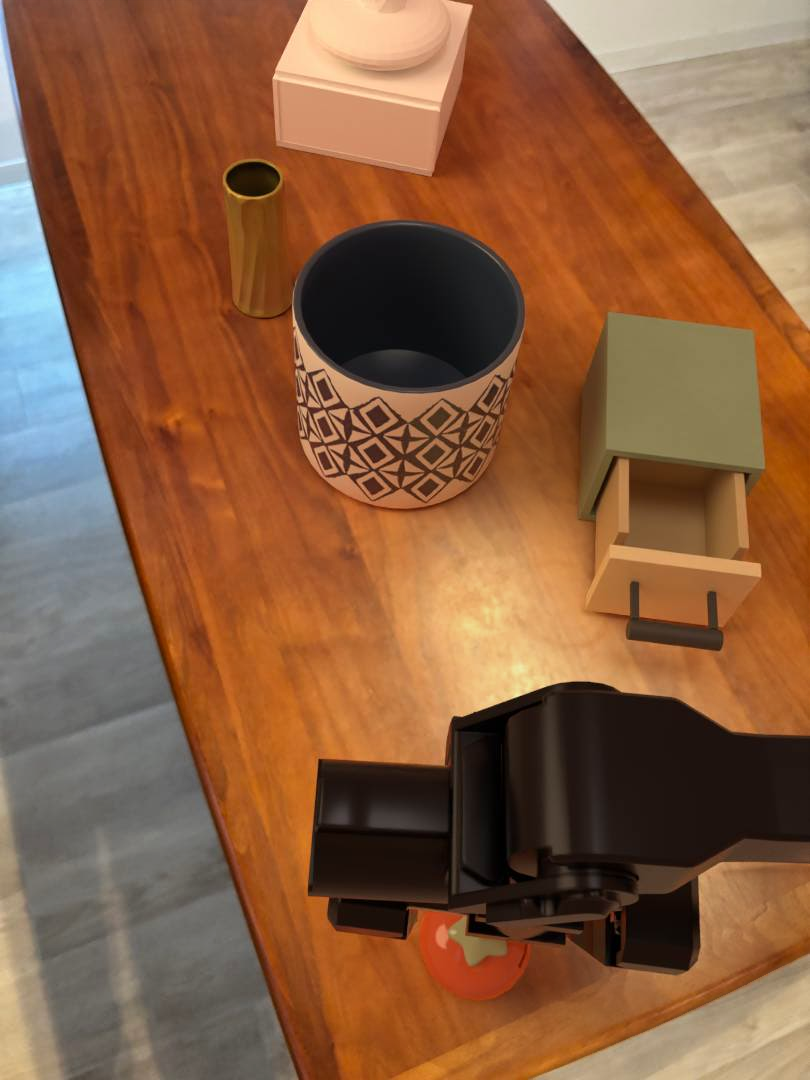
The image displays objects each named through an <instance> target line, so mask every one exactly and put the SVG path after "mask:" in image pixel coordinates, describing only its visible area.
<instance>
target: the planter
mask: <svg viewBox="0 0 810 1080" xmlns="http://www.w3.org/2000/svg"><path fill="white" fill-rule="evenodd" d="M293 287H294V291H293V303H292V305H291V307H292V333H293V335H292V336H293V353H294V356H293V357H294V374H295V375H294V377H295V392H296V411H297V412H296V413H297V427H298V432H299V433H298V434H299V440H300V443H301V446H302V449H303V452H304V454H305V456H306V458H307V460H308V461H309V464H311V466H312V468H314V470H315V471H316V472H317V474H319V476H320V477H321V478H322V479H323V480H325V482H327V483H328V484H329V485H330V486H331V487H333V488H334V489H336V490H337V491H339V492H340V493H342V494H344V495H346V496H347V497H350V498H352V499H354V500H356V501H359V502H362V503H364V504H369V505H371V506H375V507H381V508H389V509H416V508H417V509H418V508H425V507H428V506H432V505H436V504H440V503H443V502H445V501H447V500H450V499H452V498H454V497H455V496H457V495H459V494H461V493H462V492H464V491H466V490H467V489H468V488H470V487H471V486H472V485H473V484H474V483H476V482H477V481H478V480H479V479H480V477H481V476H482V475H483V474H484V472H485V471H486V470H487V468H488V467H489V465H490V463H491V461H492V460H493V457H494V455H495V452H496V449H497V446H498V441H499V438H500V434H501V430H502V425H503V421H504V418H505V413H506V409H507V405H508V401H509V398H510V397H509V396H510V392H511V388H512V385H513V379H514V375H515V371H516V367H517V362H518V358H519V354H520V350H521V345H522V342H523V341H522V340H523V338H524V337H523V336H524V331H525V328H526V327H525V326H526V317H527V310H526V299H525V296H524V293H523V289H522V286H521V284H520V282H519V280H518V279H517V277H516V274H515V273H514V271H513V270H512V269H511V268H510V266H509V265H508V264H507V262H506V261H505V260H504V259H503V258H502V257H501V256H500V255H499V254H498V253H497V252H496V251H495V250H494V249H492V248H491V247H490V246H488V245H487V244H485V243H484V242H483V241H481V240H479V239H477V238H475V237H474V236H472V235H471V234H468V233H467V232H464V231H461V230H459V229H456V228H453V227H451V226H447V225H444V224H440V223H436V222H432V221H425V220H417V219H390V220H380V221H376V222H369V223H366V224H365V223H364V224H362V225H359V226H356V227H352V228H349V229H348V230H345V231H343V232H341V233H339V234H337V235H335V236H334V237H332V238H330V239H329V240H327V241H326V242H325V243H323V244H322V245H321V246H320V247H319V248H318V249H316V251H314V252H313V253H312V254H311V256H310V257H309V258H308V259H307V261H306V262H305V263H304V264H303V266H302V268H301V269H300V272H299V274H298V276H297V277H296V280H295V284H294V286H293Z"/></svg>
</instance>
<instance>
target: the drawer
mask: <svg viewBox="0 0 810 1080" xmlns="http://www.w3.org/2000/svg"><path fill="white" fill-rule="evenodd" d="M747 510H748V509H747V498H746V495H745V481H744V472H738V471H730V470H722V469H714V468H706V467H698V466H690V465H683V464H675V463H667V462H659V461H651V460H643V459H636V458H628V457H620V456H613V459H612V461H611V463H610V466H609V468H608V471H607V473H606V476H605V478H604V480H603V483H602V485H601V488H600V490H599V493H598V495H597V497H596V521H595V541H594V542H595V543H594V545H595V548H594V549H595V550H594V552H595V553H594V554H595V555H594V578H593V580H592V582H591V584H590V587H589V588H588V591H587V593H586V594H585V597H584V610H585V611H589V612H598V613H607V614H614V615H622V616H628V617H629V618H628V619H627V621H626V626H625V639H626V640H629V641H636V642H643V643H650V644H659V645H667V646H673V647H681V648H682V647H683V648H689V649H698V650H705V651H713V652H720V651H721V650H722V649H723V646H724V640H725V637H724V635H725V634H724V632H723V630H721V629H719V628H724V627H725V626H726V625H727V623H728V621H730V619H731V617H732V616H733V615H734V614H735V612H736V611H737V610H738V608H739V607H740V606H741V604H743V602H744V601H745V599H746V598H747V597H748V596H749V595H750V593H751V591H753V589H754V588H755V587H756V585H758V583H759V581H760V580H761V579H762V576H763V575H762V564H761V563H760V562H751V561H745V560H743V558H744V557H745V555H746V554H747V552H748V551H749V549H750V539H749V525H748V524H749V523H748V511H747ZM640 618H643V619H640ZM644 618H645V619H644ZM646 619H654V620H661V621H669V622H677V623H684V624H692V625H699V626H700V625H701V626H707V627H708V628H706V627H699V626H692V625H684V624H676V623H669V622H661V621H653V620H646Z"/></svg>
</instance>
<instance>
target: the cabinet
mask: <svg viewBox="0 0 810 1080" xmlns="http://www.w3.org/2000/svg"><path fill="white" fill-rule="evenodd" d="M754 330H755V329H748V328H740V327H734V326H723V325H717V324H710V323H709V324H708V323H700V322H692V321H685V320H678V319H677V320H676V319H668V318H661V317H653V316H652V317H651V316H644V315H637V314H628V313H621V312H613V311H608V312H607V313H606V316H605V319H604V323H603V325H602V328H601V332H600V335H599V338H598V341H597V344H596V347H595V349H594V353H593V355H592V358H591V361H590V365H589V368H588V371H587V373H586V377H585V380H584V382H583V386H582V389H581V410H580V411H581V413H580V416H581V419H580V446H579V448H580V449H579V482H578V514H577V517H578V520H581V521H589V522H596V497H597V495H598V493H599V490H600V488H601V485H602V483H603V480H604V478H605V476H606V473H607V471H608V468H609V466H610V463H611V461H612V459H613V456H620V457H628V458H636V459H643V460H651V461H659V462H667V463H675V464H683V465H690V466H698V467H706V468H714V469H722V470H730V471H738V472H744V481H745V495H746V499H747V498H748V497H749V496H750V494H751V492H752V491H753V489H754V488H755V486H756V485H757V483H758V482H759V480H760V479H761V477H762V475H763V474H764V473H765V471H766V457H765V446H764V436H763V435H764V434H763V423H762V412H761V400H760V398H761V397H760V387H759V375H758V364H757V363H758V362H757V353H756V340H755V331H754Z"/></svg>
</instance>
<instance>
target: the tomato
mask: <svg viewBox="0 0 810 1080" xmlns="http://www.w3.org/2000/svg"><path fill="white" fill-rule="evenodd" d="M466 919H467V916H460V915H452V914H445V913H437V912H429V911H425V912H424V915H423V916H422V918H421V924H420V930H419V937H418V940H419V941H418V942H419V947H420V954H421V958H422V961H423V963H424V965H425V968H426V969H427V971H428V973H429V976H431V978H432V979H433V980H434V981H435V982H436V983H437V984H438V985H439V986H440V987H441V988H442V989H443V990H445V991H446V992H448V993H450V994H451V995H453V996H455V997H457V998H459V999H463V1000H470V1001H475V1002H479V1001H480V1002H481V1001H487V1000H492V999H493V1000H494V999H496V998H498V997H500V996H501V995H503V994H505V993H507V992H508V991H510V990H511V989H512V988H513V987H514V986H515V985H516V984H517V982H518V981H519V980H520V979H521V978H522V977H523V976H524V973H525V971H526V968H527V966H528V963H529V961H530V957H531V949H532V948H531V947H532V944H525V943H517V942H510V941H502V940H494V939H487V938H479V937H471V936H465V932H466Z"/></svg>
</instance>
